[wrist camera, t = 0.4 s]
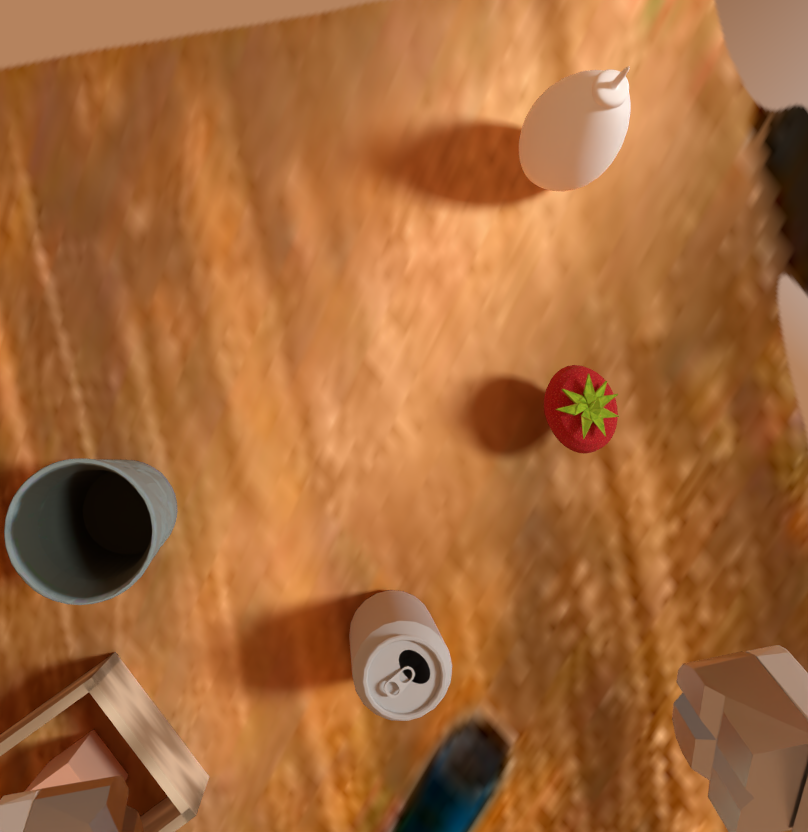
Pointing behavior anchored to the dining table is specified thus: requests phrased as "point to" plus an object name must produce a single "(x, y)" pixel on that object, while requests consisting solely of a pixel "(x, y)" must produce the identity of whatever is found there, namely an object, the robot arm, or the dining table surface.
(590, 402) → the strawberry
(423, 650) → the can
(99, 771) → the block
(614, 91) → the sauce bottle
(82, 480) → the grey cup
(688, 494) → the dining table surface
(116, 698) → the open box
